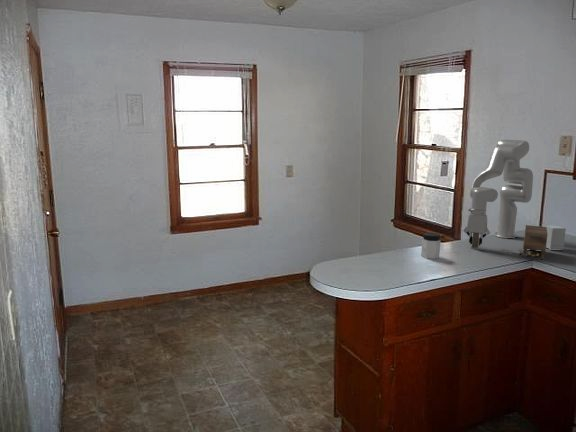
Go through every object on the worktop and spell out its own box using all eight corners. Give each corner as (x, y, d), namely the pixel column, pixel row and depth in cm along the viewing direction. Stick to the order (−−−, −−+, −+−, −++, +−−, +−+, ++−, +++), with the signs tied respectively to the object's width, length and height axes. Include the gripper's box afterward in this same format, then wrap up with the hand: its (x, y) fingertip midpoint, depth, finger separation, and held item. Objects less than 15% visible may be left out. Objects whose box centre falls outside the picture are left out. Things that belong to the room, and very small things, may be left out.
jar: (418, 255, 254) (420, 232, 251) (431, 254, 256) (433, 231, 254) (428, 259, 245) (429, 236, 243) (442, 258, 248) (443, 235, 245)
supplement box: (563, 251, 267) (566, 228, 264) (549, 250, 267) (552, 228, 264) (556, 247, 274) (559, 225, 271) (543, 247, 274) (545, 225, 272)
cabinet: (523, 248, 270) (525, 225, 267) (543, 251, 265) (546, 227, 263) (522, 257, 253) (525, 231, 250) (544, 259, 249) (547, 234, 246)
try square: (471, 246, 273) (473, 229, 271) (519, 252, 262) (521, 234, 260) (470, 248, 268) (472, 231, 266) (519, 255, 258) (521, 236, 256)
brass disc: (528, 254, 260) (528, 251, 260) (538, 255, 258) (538, 252, 258) (528, 256, 256) (528, 253, 256) (538, 257, 254) (539, 254, 253)
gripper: (461, 211, 265) (458, 244, 269) (494, 214, 258) (491, 248, 262) (463, 209, 272) (460, 241, 276) (495, 212, 265) (492, 244, 269)
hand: (475, 244), depth 269 cm, fingers open, 3 cm apart
